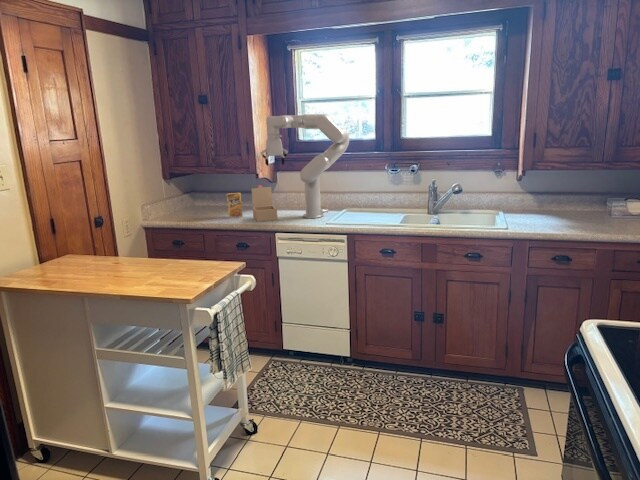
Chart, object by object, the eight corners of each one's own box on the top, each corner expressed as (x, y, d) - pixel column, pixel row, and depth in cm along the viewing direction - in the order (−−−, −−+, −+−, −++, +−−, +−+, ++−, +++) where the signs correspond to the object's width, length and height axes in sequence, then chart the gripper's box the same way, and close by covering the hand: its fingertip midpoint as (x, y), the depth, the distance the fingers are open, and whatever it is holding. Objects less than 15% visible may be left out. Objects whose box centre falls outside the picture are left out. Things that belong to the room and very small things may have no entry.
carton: (273, 216, 309) (273, 205, 308) (277, 220, 298) (276, 208, 296) (253, 218, 306) (252, 207, 304) (256, 222, 294) (255, 210, 292)
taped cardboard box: (272, 204, 308) (270, 203, 314) (271, 185, 305) (269, 184, 311) (252, 206, 304) (251, 205, 311) (251, 187, 301) (249, 186, 308)
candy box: (229, 218, 309) (226, 194, 306) (228, 217, 313) (226, 193, 310) (242, 216, 312) (241, 193, 308) (241, 215, 316) (240, 192, 312)
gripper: (285, 136, 304) (287, 163, 308) (258, 137, 299) (260, 165, 303) (288, 136, 297) (290, 164, 301) (260, 137, 292) (262, 166, 296)
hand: (275, 165), depth 302 cm, fingers open, 9 cm apart
